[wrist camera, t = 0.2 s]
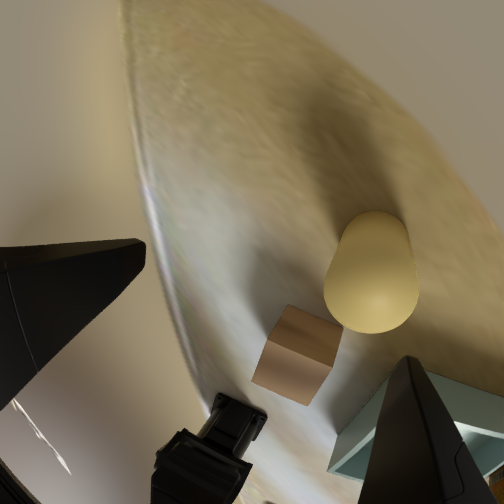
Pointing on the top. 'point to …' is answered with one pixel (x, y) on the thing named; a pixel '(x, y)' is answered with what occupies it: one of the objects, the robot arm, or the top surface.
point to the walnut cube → (298, 355)
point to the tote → (461, 410)
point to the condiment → (497, 484)
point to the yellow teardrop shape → (372, 275)
